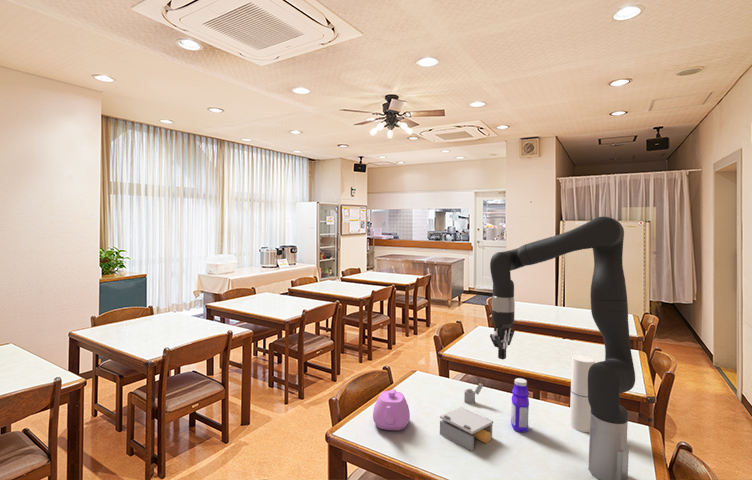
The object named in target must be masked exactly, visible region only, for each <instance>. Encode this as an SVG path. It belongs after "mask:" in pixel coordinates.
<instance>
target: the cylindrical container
mask: <svg viewBox="0 0 752 480" xmlns="http://www.w3.org/2000/svg"><path fill="white" fill-rule="evenodd" d="M594 363H596V360H595V359H594V358H592V357H591V356H585V355H582V354H581V355H579V354H575V355H572V357H571V379H570V403H569V404H570V407H569V412H570V413H569V427H571V428H572V429H573V430H576V431H578V432H582V433H590V414H591V407H590V404H589V401H588V371H589V368H590V367H591V365H593V364H594Z"/></svg>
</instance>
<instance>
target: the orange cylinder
mask: <svg viewBox="0 0 752 480" xmlns="http://www.w3.org/2000/svg"><path fill="white" fill-rule="evenodd" d="M464 431H465V430H464ZM465 432H467V431H465ZM467 433H469V432H467ZM469 434H471V433H469ZM471 435H472V436H474V439H477V440H479V441H480V442H483V443H484V444H488V443H489V442H490V441H491V439H492V438H491V434H490V432H488V431H486V430H484V429H481V430H479V431H478V432H476V433H474V434H471Z"/></svg>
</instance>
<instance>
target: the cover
mask: <svg viewBox="0 0 752 480" xmlns="http://www.w3.org/2000/svg"><path fill="white" fill-rule="evenodd" d="M439 418H440V419H441V420H445V421H447V422H449V423H451V424H453V425H455V426H456V427H457V428H459V429H461V430H463V431H467V432H469V433H471V434H474V433H476V432H478V431H479V430H481V429H483V428H485V427H487V426H489V425H491V424H492V425H493V424H494V421H493V420H491V419H489V418H486V417H484V416H482V415H479V414H478V413H475V412H473V411H470V410H469V409H466V408H464V407H462V406H460V407H457V408H455V409H453V410H451V411H448V412H446V413H444V414H441V415H439Z"/></svg>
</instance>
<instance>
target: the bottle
mask: <svg viewBox="0 0 752 480" xmlns="http://www.w3.org/2000/svg"><path fill="white" fill-rule="evenodd" d="M527 385H528V380H526V379H524V378H521V377H517V378H515V379H514V386H513V389H512V391H511V393H512V396H511V412H510V413H511V414H510V415H511V416H510V425H511V427H512V428H513V430H514V431H515V432H520V433H526V432H527V431H528V429H529V408H530V407H529V406H530V401H529V400H530V399H529V395H530V393H529V390H528V386H527Z"/></svg>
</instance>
